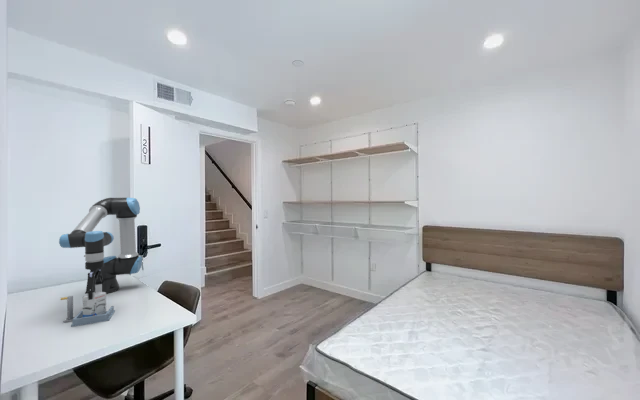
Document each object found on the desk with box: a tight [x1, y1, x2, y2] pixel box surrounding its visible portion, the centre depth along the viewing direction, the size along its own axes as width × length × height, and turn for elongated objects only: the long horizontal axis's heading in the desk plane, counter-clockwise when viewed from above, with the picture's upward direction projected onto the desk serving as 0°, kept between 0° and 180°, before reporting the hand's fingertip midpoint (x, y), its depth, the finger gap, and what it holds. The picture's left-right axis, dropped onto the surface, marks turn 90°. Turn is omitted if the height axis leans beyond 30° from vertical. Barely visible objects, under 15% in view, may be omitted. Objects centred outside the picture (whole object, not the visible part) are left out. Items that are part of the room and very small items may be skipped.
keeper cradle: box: [60, 295, 116, 328], centre depth 138 cm, size 13×22×12 cm, turn 117°
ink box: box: [82, 292, 107, 317], centre depth 140 cm, size 9×5×12 cm, turn 167°
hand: (95, 300), depth 140 cm, fingers open, 13 cm apart
